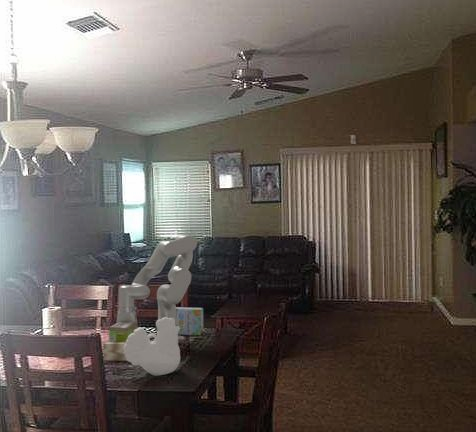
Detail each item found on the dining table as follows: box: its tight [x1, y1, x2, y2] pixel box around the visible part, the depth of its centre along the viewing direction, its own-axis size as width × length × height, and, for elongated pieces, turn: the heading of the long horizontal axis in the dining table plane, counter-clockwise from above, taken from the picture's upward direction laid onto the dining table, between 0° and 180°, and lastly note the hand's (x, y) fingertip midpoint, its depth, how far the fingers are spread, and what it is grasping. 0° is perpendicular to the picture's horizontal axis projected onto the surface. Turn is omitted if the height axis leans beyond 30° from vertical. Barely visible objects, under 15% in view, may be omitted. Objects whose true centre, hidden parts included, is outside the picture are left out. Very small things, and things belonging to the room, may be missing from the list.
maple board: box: [102, 341, 127, 361], centre depth 280 cm, size 12×3×8 cm, turn 87°
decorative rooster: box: [123, 317, 181, 377], centre depth 256 cm, size 25×16×25 cm, turn 99°
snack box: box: [176, 306, 204, 336], centre depth 334 cm, size 21×6×15 cm, turn 77°
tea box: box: [108, 321, 138, 342], centre depth 291 cm, size 15×10×15 cm
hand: (126, 344), depth 301 cm, fingers closed
